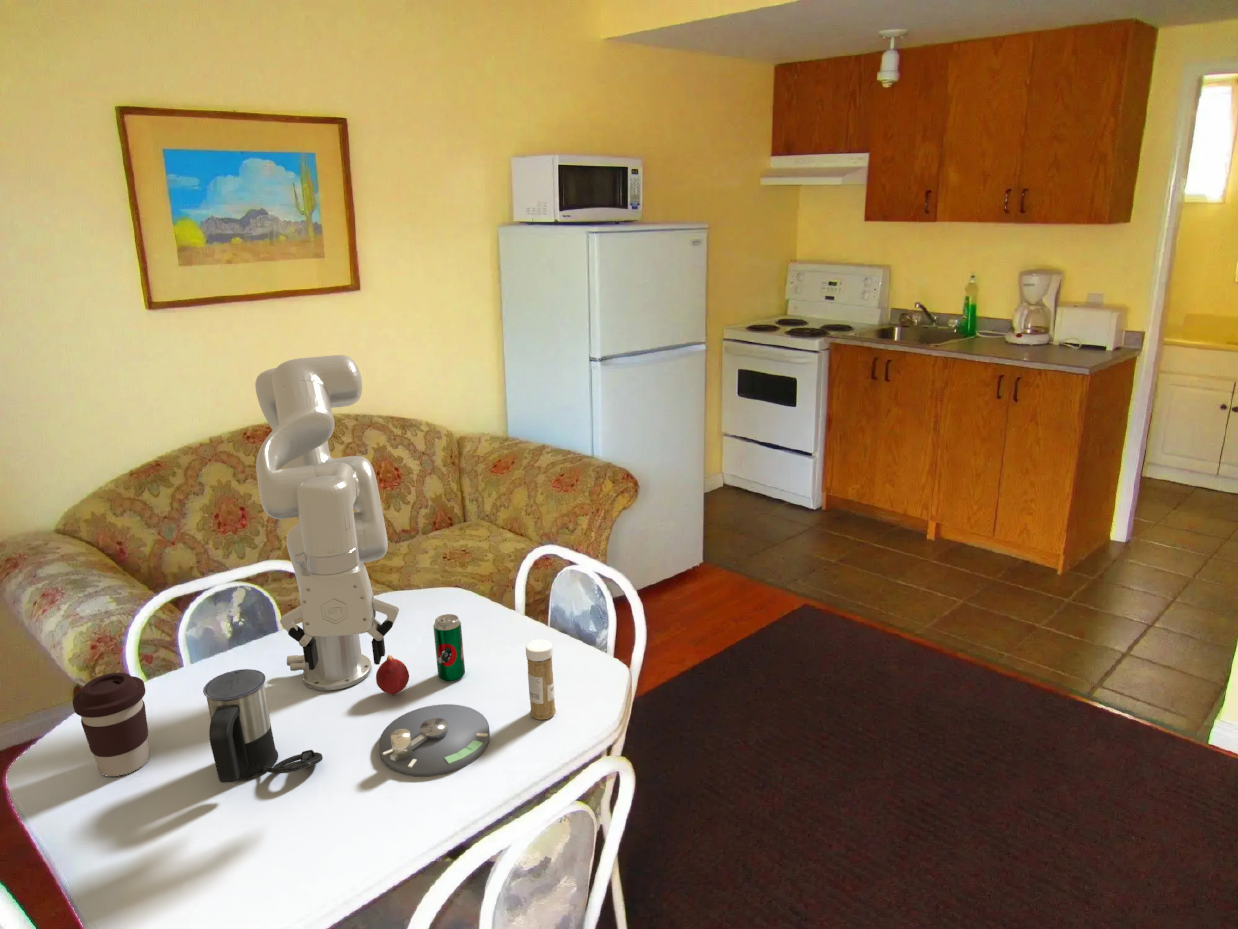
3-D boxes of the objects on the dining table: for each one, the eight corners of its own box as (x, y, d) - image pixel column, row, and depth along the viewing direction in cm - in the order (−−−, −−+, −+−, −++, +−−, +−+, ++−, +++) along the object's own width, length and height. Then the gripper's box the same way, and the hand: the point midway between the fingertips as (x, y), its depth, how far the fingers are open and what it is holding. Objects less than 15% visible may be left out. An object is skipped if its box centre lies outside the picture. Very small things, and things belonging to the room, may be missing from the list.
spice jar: (560, 715, 151) (557, 646, 147) (537, 724, 148) (533, 654, 145) (547, 703, 155) (544, 636, 151) (525, 711, 152) (520, 643, 148)
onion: (417, 690, 160) (413, 651, 158) (397, 706, 155) (392, 666, 153) (392, 683, 162) (387, 645, 160) (371, 699, 157) (366, 660, 155)
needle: (434, 721, 146) (432, 702, 145) (453, 729, 144) (451, 710, 143) (383, 755, 138) (381, 736, 137) (402, 765, 135) (400, 745, 134)
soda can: (469, 677, 164) (464, 620, 160) (444, 686, 161) (439, 628, 157) (458, 666, 168) (453, 610, 164) (434, 674, 165) (428, 618, 161)
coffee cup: (88, 791, 134) (67, 707, 130) (91, 757, 143) (72, 677, 138) (159, 771, 138) (141, 689, 134) (158, 739, 147) (142, 661, 143)
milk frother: (218, 755, 142) (203, 675, 138) (318, 731, 148) (306, 654, 144) (216, 807, 130) (200, 722, 125) (326, 779, 136) (313, 696, 131)
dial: (371, 781, 135) (370, 772, 134) (388, 716, 152) (387, 707, 151) (487, 771, 136) (486, 762, 136) (491, 708, 154) (491, 699, 153)
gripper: (265, 573, 123) (281, 680, 128) (388, 565, 125) (400, 670, 130) (279, 554, 130) (294, 655, 135) (395, 546, 132) (406, 646, 137)
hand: (346, 663), depth 132 cm, fingers open, 9 cm apart
